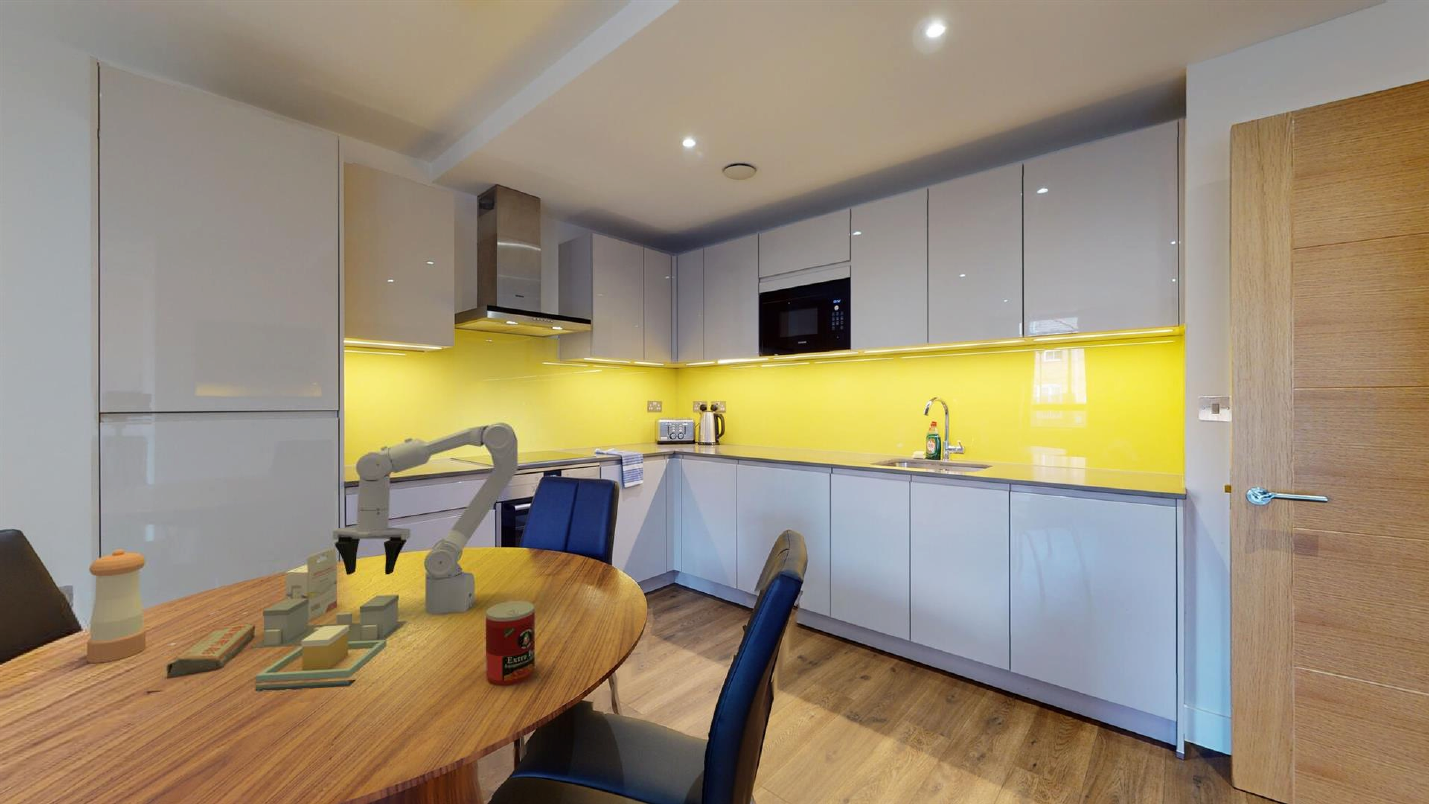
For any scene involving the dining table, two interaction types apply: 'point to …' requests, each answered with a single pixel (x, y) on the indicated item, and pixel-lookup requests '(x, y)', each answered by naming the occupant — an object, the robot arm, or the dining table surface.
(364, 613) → the block
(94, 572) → the pepper shaker
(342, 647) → the block
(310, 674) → the parts tray
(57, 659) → the dining table surface
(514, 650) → the canned food
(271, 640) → the block
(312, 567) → the ink cartridge box
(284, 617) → the block
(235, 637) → the packaged product
